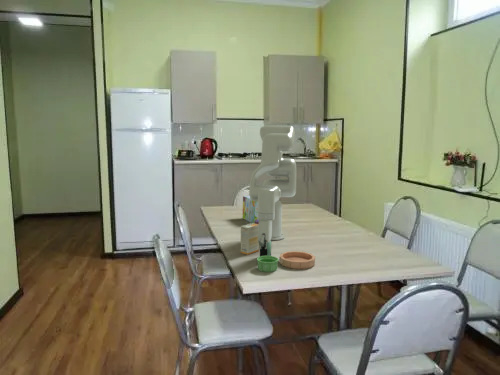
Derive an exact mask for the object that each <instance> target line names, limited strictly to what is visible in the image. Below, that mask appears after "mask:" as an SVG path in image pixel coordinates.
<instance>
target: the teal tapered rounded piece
mask: <svg viewBox="0 0 500 375" xmlns="http://www.w3.org/2000/svg"><path fill="white" fill-rule="evenodd" d="M264 242H266V241H264ZM260 245H261V241H260V242H259V246H260ZM265 245H266V244H265ZM267 256H272V240H271V241H269V242H268V243H267Z"/></svg>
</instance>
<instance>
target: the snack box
mask: <svg viewBox="0 0 500 375" xmlns="http://www.w3.org/2000/svg"><path fill="white" fill-rule="evenodd" d="M257 218H258V201H252V200H251V199H250V196H249V195H243V196H242V219H244V220H245V221H246V222H248V223H249V224H250V223H254V224H259V220H258V219H257Z"/></svg>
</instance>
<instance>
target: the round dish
mask: <svg viewBox="0 0 500 375" xmlns="http://www.w3.org/2000/svg"><path fill="white" fill-rule="evenodd" d="M278 259H279V260H278V263H279V264H280V265H281V266H282V267H285V268H288V269H293V270H304V269H310V268H313V267H314V266H315V264H316V256H315V255H314V254H312V253H309V252H306V251H297V250H291V251H290V250H289V251H285V252H282V253H280V255H279V258H278Z"/></svg>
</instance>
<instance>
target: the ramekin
mask: <svg viewBox="0 0 500 375" xmlns="http://www.w3.org/2000/svg"><path fill="white" fill-rule="evenodd" d="M256 261H257V262H256V263H257V269H258V271H260V272H264V273H273V272H276V271H277V270H278V267H279V266H278V265H279V264H278V263H279V258H278V257H276V256H273V255H271V256H260V255H259V256H258V257H257V258H256Z"/></svg>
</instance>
